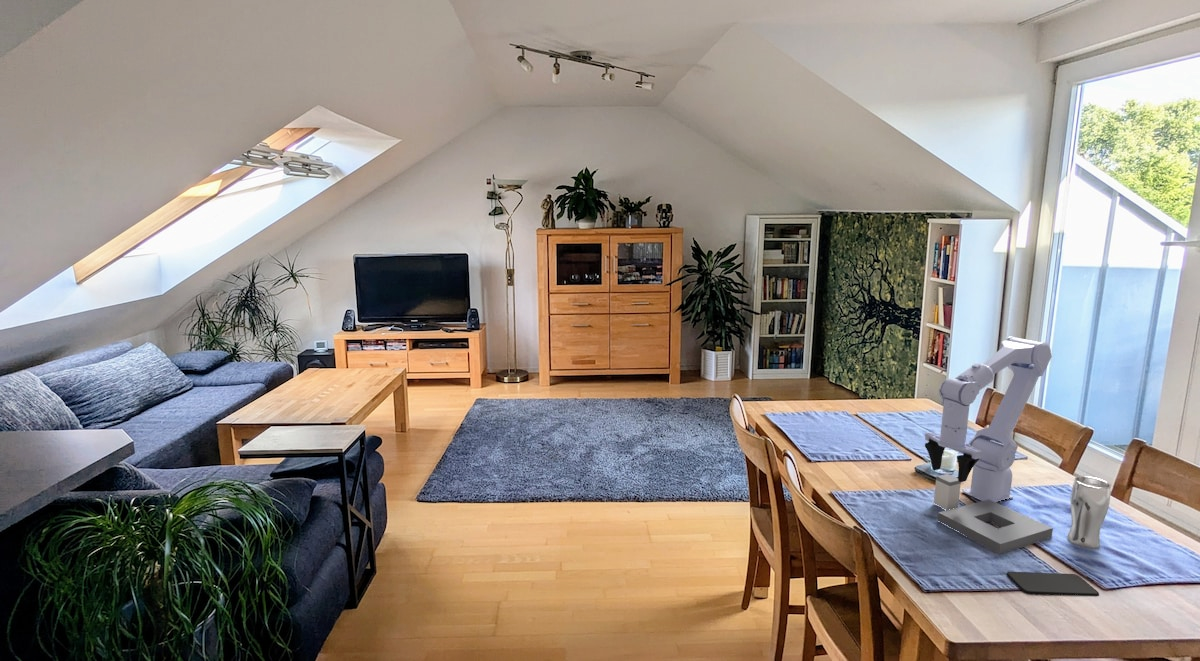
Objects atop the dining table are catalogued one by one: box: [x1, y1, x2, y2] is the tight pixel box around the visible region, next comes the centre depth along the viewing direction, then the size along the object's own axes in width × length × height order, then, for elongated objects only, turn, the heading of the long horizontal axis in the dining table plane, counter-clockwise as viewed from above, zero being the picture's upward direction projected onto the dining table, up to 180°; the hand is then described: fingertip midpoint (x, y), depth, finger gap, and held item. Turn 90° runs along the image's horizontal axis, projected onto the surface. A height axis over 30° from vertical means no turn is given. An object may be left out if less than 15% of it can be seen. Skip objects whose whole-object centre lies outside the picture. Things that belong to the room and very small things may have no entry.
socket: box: [937, 499, 1054, 555], centre depth 150 cm, size 18×16×2 cm
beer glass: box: [1066, 475, 1112, 549], centre depth 143 cm, size 7×7×15 cm
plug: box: [933, 473, 962, 510], centre depth 161 cm, size 4×4×8 cm
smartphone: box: [1006, 571, 1100, 597], centre depth 128 cm, size 7×1×15 cm
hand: (948, 475), depth 160 cm, fingers open, 7 cm apart
